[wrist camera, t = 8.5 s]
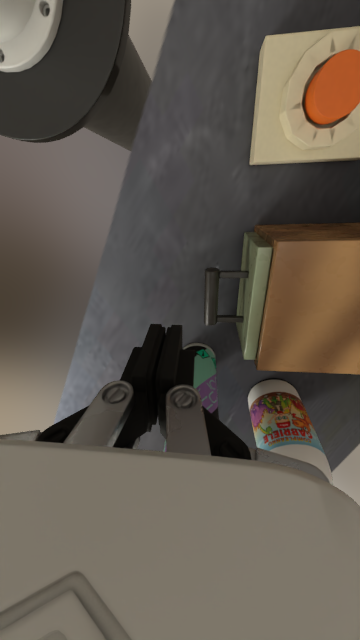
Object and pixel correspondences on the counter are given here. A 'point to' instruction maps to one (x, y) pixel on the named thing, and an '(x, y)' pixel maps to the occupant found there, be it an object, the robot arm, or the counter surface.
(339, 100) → the button
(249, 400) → the milk bottle
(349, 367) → the cabinet
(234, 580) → the robot arm
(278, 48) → the button box
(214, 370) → the spray can
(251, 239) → the drawer
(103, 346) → the counter surface
